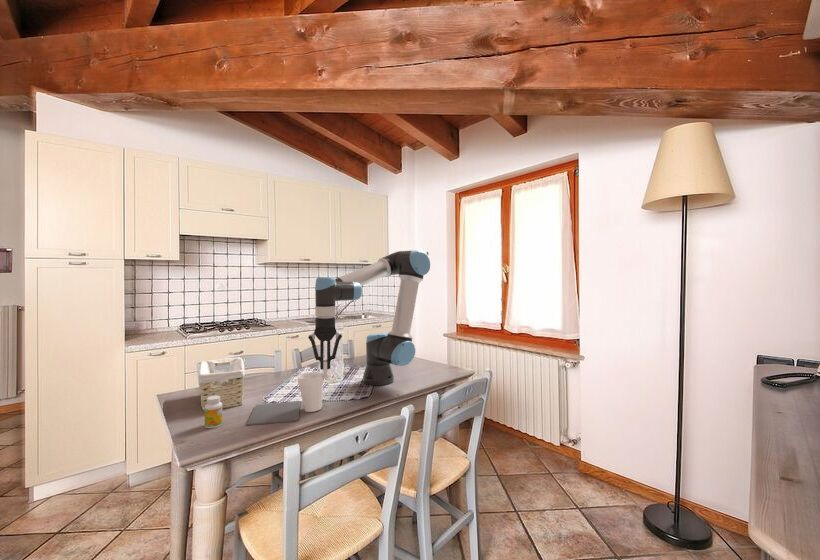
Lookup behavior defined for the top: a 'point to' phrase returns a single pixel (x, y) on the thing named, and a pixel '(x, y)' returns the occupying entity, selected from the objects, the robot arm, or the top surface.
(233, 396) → the storage basket
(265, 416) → the charcoal mat
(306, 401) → the foam cup
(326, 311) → the robot arm
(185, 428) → the top surface
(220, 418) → the supplement bottle
